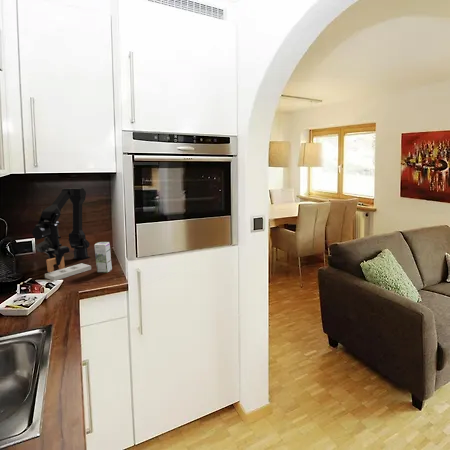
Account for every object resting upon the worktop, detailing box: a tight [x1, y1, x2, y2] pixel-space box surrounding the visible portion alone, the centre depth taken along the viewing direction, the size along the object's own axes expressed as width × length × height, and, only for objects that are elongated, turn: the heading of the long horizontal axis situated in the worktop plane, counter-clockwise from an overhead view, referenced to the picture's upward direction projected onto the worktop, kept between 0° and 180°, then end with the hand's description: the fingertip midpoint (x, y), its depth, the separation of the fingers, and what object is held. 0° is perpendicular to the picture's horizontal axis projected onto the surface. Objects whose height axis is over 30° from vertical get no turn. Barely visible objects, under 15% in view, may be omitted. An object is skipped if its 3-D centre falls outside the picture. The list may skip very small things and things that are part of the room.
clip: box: [45, 256, 66, 273], centre depth 189 cm, size 8×2×6 cm, turn 145°
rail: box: [44, 262, 92, 281], centre depth 183 cm, size 20×8×2 cm, turn 145°
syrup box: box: [94, 241, 113, 273], centre depth 185 cm, size 6×6×14 cm
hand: (55, 264), depth 189 cm, fingers open, 4 cm apart
